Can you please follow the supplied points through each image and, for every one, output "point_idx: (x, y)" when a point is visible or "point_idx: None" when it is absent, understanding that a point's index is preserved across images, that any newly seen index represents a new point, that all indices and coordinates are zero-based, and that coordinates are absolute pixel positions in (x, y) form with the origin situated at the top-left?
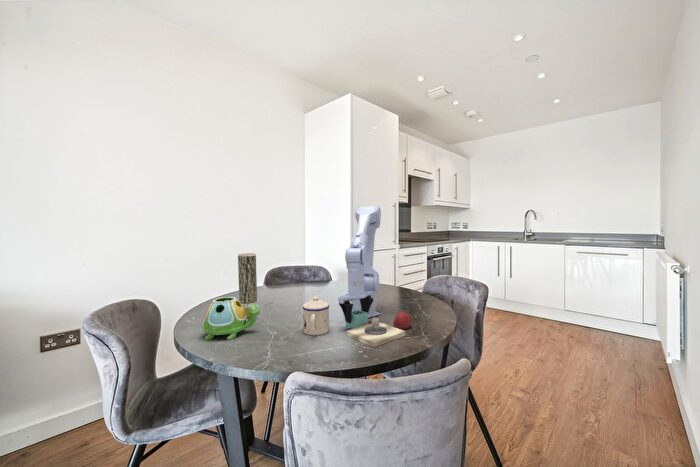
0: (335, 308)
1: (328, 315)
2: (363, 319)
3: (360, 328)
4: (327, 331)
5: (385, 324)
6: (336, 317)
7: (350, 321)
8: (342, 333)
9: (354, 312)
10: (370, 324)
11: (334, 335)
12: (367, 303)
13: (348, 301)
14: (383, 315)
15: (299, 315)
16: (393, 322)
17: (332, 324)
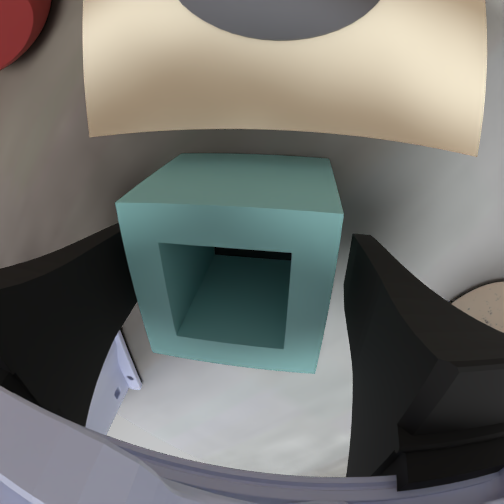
0: (170, 441)
1: None
2: (212, 179)
3: (346, 90)
4: (482, 288)
5: (84, 30)
6: (238, 401)
7: (365, 238)
8: (444, 200)
9: (218, 332)
10: (183, 104)
11: (496, 217)
12: (34, 299)
13: (426, 471)
14: (10, 249)
15: (338, 468)
16: (27, 31)
17: (343, 358)
